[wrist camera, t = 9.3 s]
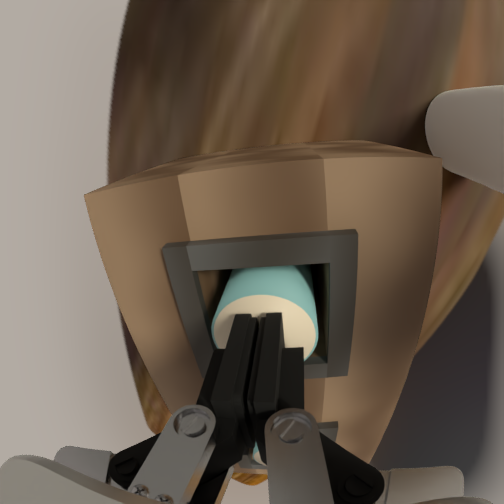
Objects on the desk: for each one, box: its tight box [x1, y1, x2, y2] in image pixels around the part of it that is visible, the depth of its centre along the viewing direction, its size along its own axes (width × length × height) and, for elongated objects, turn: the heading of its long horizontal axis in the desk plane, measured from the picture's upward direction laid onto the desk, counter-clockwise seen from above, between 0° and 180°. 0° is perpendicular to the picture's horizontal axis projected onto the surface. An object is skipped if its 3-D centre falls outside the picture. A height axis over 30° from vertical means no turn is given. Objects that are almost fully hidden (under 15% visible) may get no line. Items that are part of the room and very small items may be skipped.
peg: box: [211, 264, 318, 361], centre depth 16 cm, size 4×4×12 cm
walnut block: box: [84, 140, 442, 474], centre depth 19 cm, size 14×24×12 cm, turn 7°
